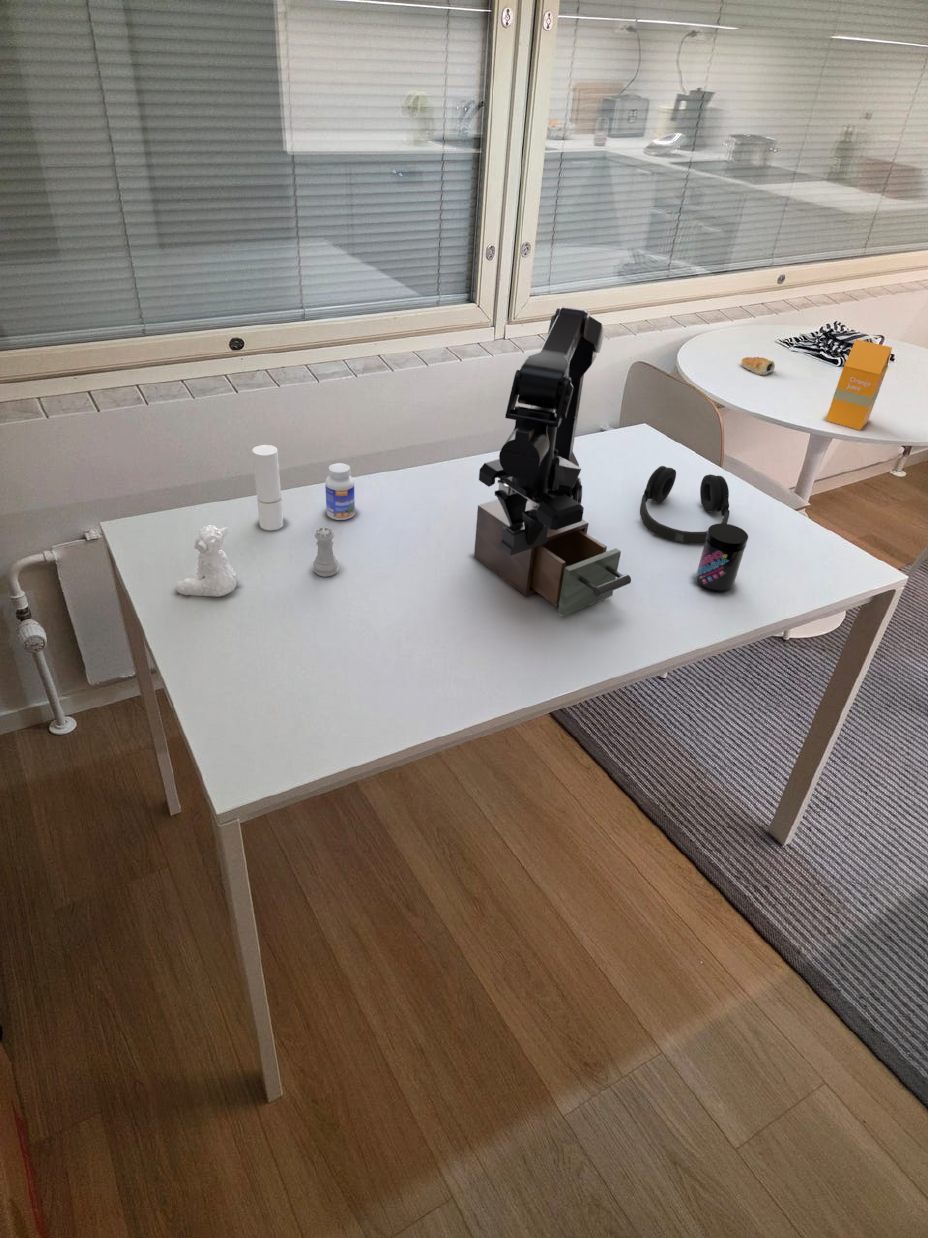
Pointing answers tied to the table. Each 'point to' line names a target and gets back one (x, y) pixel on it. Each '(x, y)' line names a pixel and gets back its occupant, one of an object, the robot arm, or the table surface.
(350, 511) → the pill bottle
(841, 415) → the orange juice
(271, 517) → the tube
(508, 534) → the dark box
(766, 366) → the pastry
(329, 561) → the rook chess piece
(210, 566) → the white creature statuette
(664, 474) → the headphones
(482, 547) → the cabinet
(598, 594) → the drawer
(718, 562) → the supplement container
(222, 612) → the table surface
